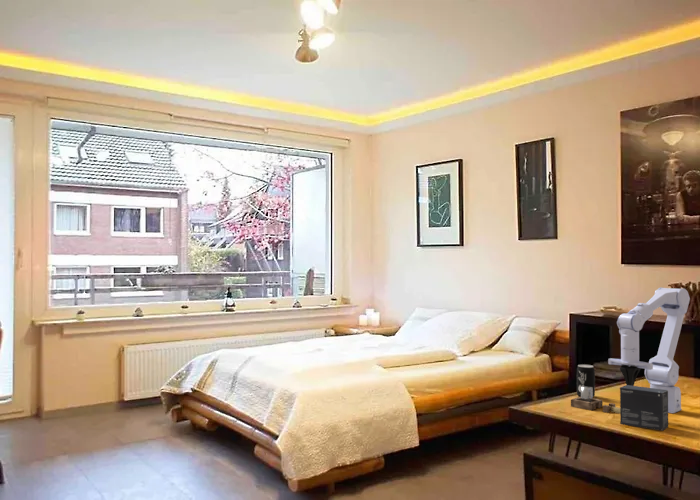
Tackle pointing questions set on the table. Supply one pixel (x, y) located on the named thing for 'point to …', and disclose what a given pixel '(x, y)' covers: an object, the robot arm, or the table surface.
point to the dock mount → (590, 404)
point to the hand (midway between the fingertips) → (630, 387)
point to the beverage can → (585, 378)
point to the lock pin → (615, 409)
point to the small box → (644, 407)
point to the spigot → (586, 394)
